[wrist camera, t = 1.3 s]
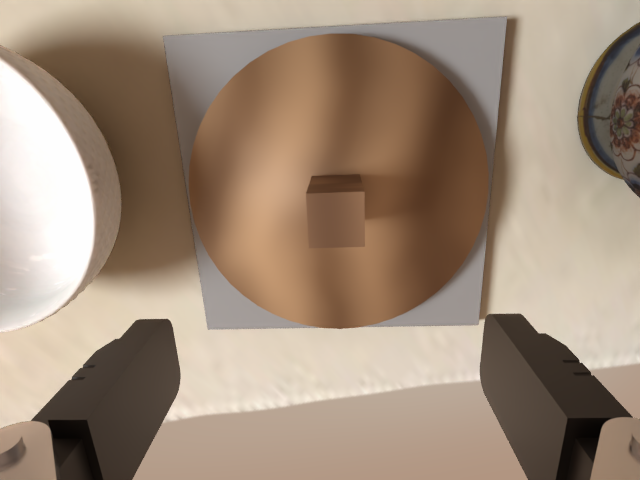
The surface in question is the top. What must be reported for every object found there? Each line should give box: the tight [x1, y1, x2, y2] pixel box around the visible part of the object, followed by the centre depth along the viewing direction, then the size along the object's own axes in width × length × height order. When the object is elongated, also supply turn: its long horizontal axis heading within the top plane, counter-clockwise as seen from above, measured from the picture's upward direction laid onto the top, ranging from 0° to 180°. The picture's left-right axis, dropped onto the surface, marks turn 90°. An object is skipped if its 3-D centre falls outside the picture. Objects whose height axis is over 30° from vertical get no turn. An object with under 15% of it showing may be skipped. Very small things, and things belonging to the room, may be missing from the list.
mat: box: [163, 17, 507, 329], centre depth 28 cm, size 20×20×1 cm
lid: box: [189, 34, 489, 329], centre depth 24 cm, size 19×19×6 cm
